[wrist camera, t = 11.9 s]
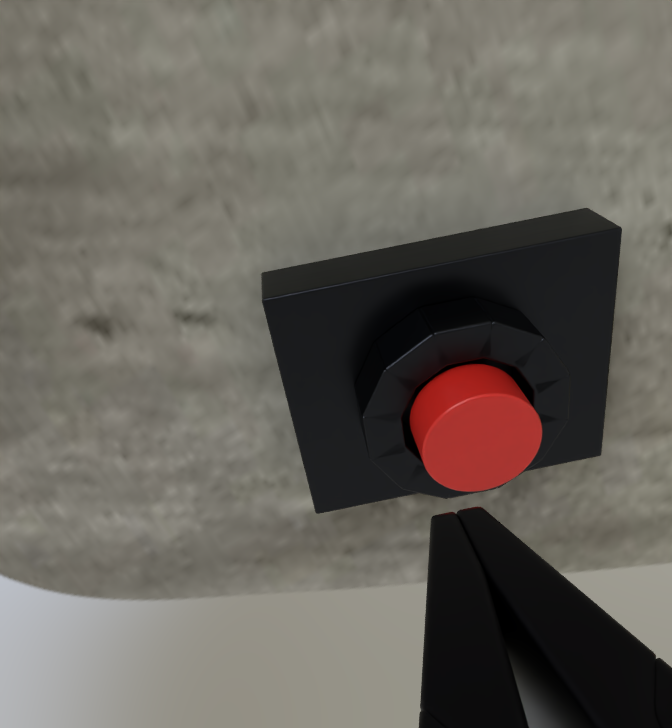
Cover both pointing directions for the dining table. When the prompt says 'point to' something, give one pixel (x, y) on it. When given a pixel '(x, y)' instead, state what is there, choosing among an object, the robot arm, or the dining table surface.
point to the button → (474, 428)
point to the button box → (443, 345)
